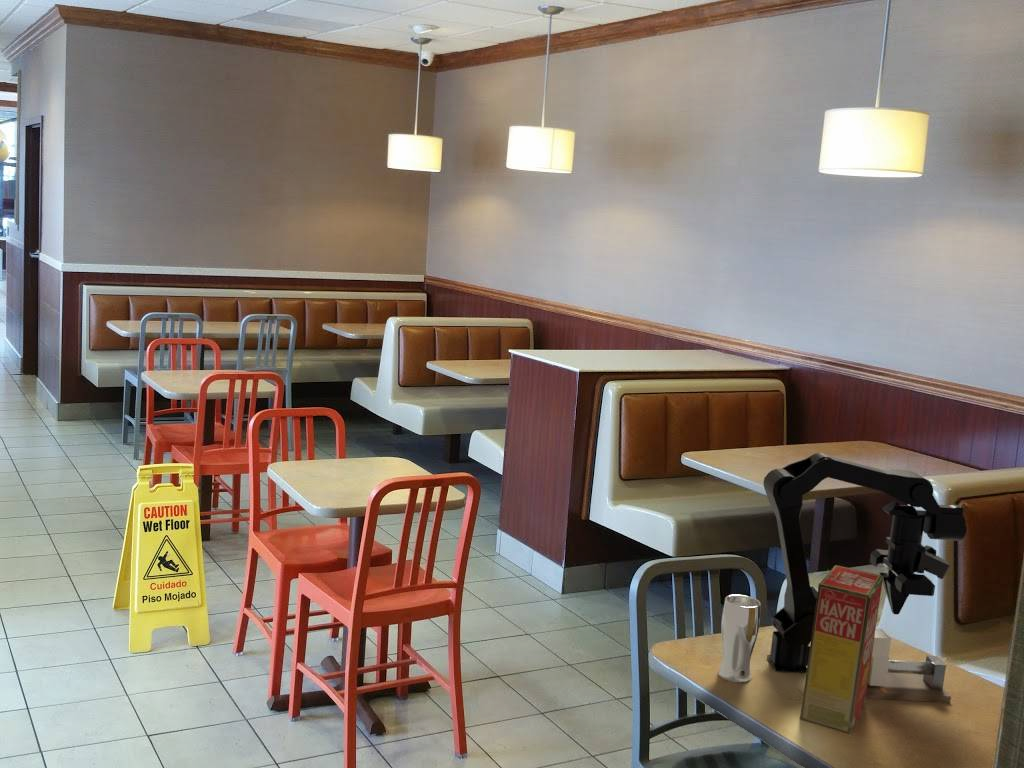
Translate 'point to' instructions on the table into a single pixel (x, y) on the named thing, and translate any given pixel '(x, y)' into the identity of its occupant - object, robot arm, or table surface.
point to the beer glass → (738, 636)
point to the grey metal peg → (922, 670)
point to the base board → (907, 689)
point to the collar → (879, 659)
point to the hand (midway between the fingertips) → (895, 613)
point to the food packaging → (841, 648)
